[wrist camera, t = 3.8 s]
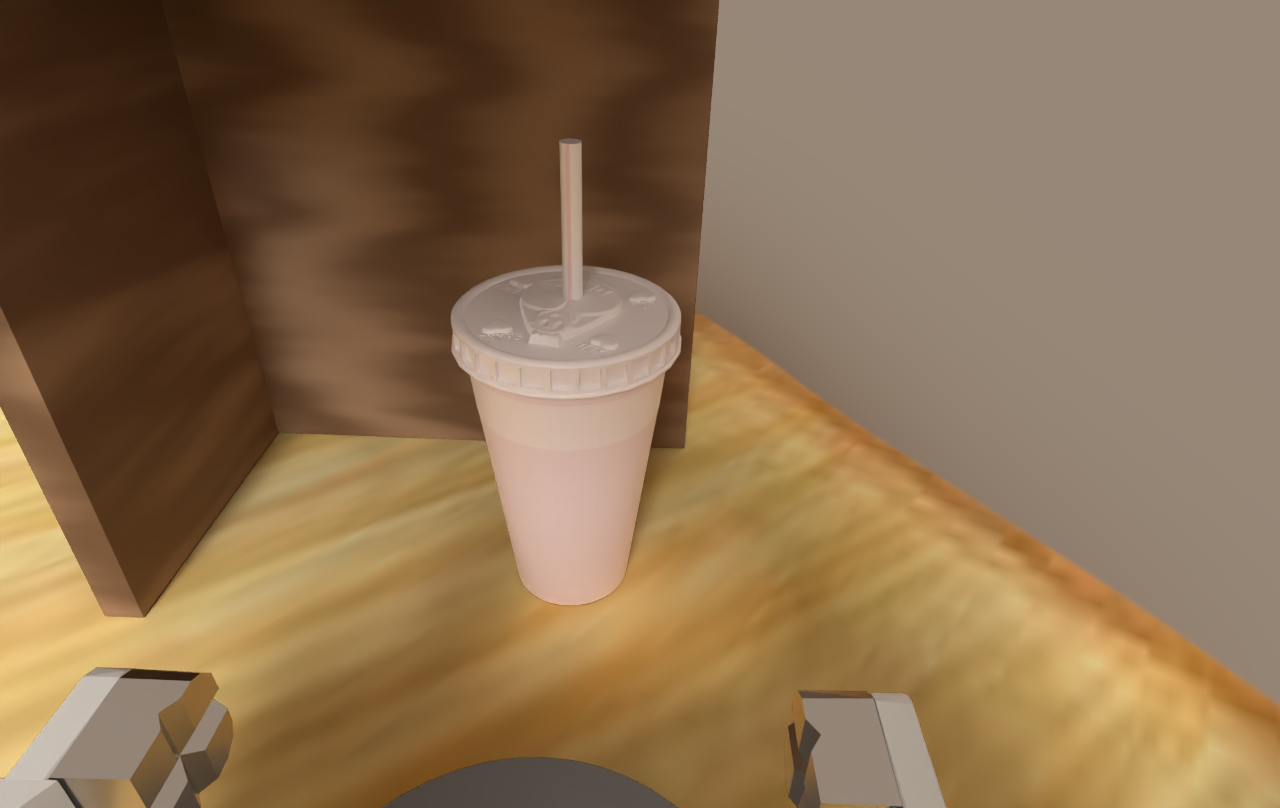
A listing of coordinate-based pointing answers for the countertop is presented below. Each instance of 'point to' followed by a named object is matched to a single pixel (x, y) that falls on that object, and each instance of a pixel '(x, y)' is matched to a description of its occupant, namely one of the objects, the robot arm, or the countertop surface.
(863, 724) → the robot arm
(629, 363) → the smoothie
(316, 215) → the shelf
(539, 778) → the coaster
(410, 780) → the countertop surface
